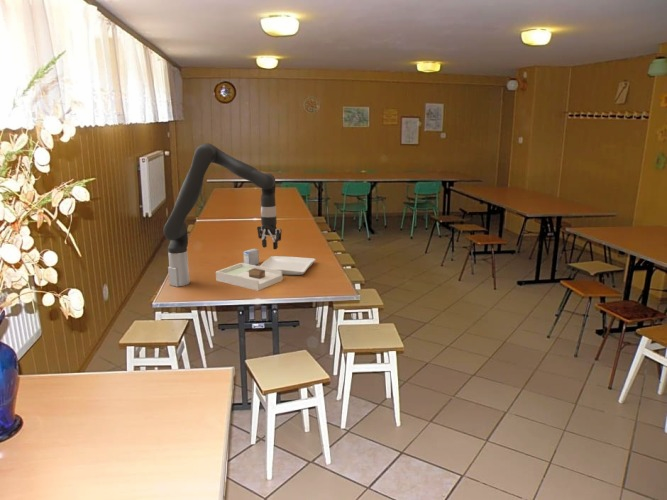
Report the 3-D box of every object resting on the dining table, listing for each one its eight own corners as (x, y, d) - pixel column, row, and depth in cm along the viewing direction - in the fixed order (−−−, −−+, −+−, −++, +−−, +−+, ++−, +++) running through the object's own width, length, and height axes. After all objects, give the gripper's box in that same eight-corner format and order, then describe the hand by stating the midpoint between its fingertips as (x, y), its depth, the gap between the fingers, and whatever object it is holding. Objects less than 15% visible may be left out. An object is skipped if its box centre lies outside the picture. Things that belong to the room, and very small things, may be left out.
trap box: (258, 290, 256) (257, 281, 255) (216, 280, 272) (215, 271, 271) (282, 280, 272) (282, 271, 271) (241, 271, 287) (241, 262, 286)
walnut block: (259, 279, 265) (259, 272, 264) (249, 276, 268) (248, 270, 267) (265, 276, 268) (264, 270, 267) (254, 274, 272) (254, 268, 271)
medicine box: (254, 262, 304) (253, 248, 302) (259, 264, 301) (258, 249, 299) (243, 265, 298) (243, 251, 296) (249, 267, 295) (248, 252, 293)
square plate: (304, 278, 276) (304, 271, 275) (255, 275, 282) (255, 268, 281) (316, 263, 302) (316, 257, 301) (271, 261, 307) (271, 255, 306)
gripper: (252, 214, 255) (254, 247, 260) (275, 217, 248) (276, 251, 252) (262, 212, 261) (264, 244, 266) (285, 215, 254) (286, 248, 258)
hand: (270, 248), depth 259 cm, fingers open, 6 cm apart
